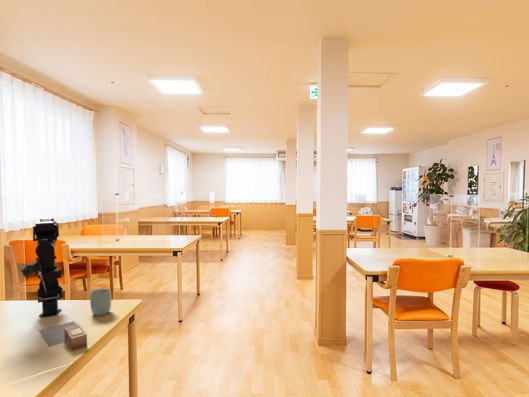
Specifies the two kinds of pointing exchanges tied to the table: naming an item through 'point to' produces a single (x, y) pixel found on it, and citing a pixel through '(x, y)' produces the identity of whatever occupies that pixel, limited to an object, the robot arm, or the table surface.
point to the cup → (100, 301)
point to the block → (75, 337)
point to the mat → (55, 333)
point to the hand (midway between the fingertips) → (47, 293)
